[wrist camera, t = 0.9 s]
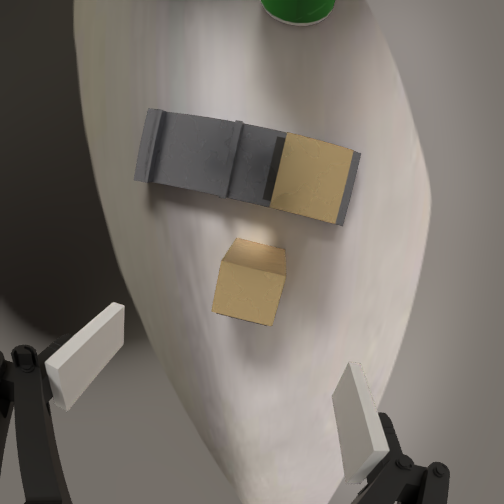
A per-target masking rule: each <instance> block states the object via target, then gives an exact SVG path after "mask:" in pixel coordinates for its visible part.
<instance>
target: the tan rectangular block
mask: <svg viewBox="0 0 504 504" xmlns="http://www.w3.org/2000/svg"><path fill="white" fill-rule="evenodd" d="M285 279H286V260H285V249H281V248H277V247H273V246H268V245H264V244H260V243H256V242H252V241H248V240H244V239H240V238H236V239H235V241H234V242H233V244H232V245H231V247H230V248H229V250H228V251H227V253H226V254H225V256H224V257H223V259H222V260H221V265H220V270H219V275H218V280H217V285H216V290H215V295H214V300H213V306H212V312H215V313H217V314H221V315H225V316H229V317H233V318H237V319H241V320H245V321H249V322H253V323H257V324H261V325H266V326H267V325H268V326H272V324H273V321H274V318H275V314H276V311H277V307H278V304H279V300H280V297H281V293H282V290H283V286H284V283H285Z"/></svg>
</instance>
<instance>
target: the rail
mask: <svg viewBox="0 0 504 504" xmlns="http://www.w3.org/2000/svg"><path fill="white" fill-rule="evenodd" d="M360 156H361V153H358V152H355V151H354V150H351V149H348V148H345V147H341V146H338V145H334V144H331V143H327V142H324V141H320V140H316V139H313V138H309V137H305V136H301V135H297V134H293V133H289V132H287V133H286V132H281V131H277V130H272V129H268V128H263V127H258V126H254V125H249V124H244V123H243V122H242V121H237V120H236V122H233V121H227V120H221V119H215V118H209V117H202V116H195V115H188V114H180V113H172V112H166V111H164V110H160V109H149V108H148V111H147V116H146V120H145V124H144V129H143V133H142V138H141V143H140V148H139V153H138V158H137V164H136V170H135V176H134V180H136V181H141V182H146V183H149V182H155V183H160V184H165V185H170V186H175V187H180V188H185V189H190V190H195V191H199V192H204V193H209V194H213V195H218V196H219V198H224V199H226V198H231V199H236V200H240V201H245V202H249V203H253V204H257V205H262V206H266V207H270V208H274V209H278V210H282V211H286V212H290V213H294V214H298V215H302V216H306V217H310V218H314V219H318V220H322V221H325V222H329V223H333V224H337V225H340V226H343V223H344V219H345V216H346V212H347V208H348V205H349V201H350V197H351V193H352V189H353V185H354V181H355V177H356V173H357V169H358V165H359V160H360Z"/></svg>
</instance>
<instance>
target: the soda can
mask: <svg viewBox="0 0 504 504" xmlns="http://www.w3.org/2000/svg"><path fill="white" fill-rule="evenodd" d="M334 3H335V0H261V4H262V5H263V7H264V9H265V11H266V12H267V13H268V14H269V15H270V16H272V17H273V18H274V19H276V20H278V21H280V22H282V23H286V24H290V25H294V26H308V25H312V24H316V23H319V22H321V21H322V20H324V19H326V18H327V17H328V15H329V14H330V13H331V12H332V9H333V6H334Z"/></svg>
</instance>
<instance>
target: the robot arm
mask: <svg viewBox="0 0 504 504" xmlns="http://www.w3.org/2000/svg"><path fill="white" fill-rule="evenodd" d="M123 344H124V305H121V304H118V303H115V302H113V303H112V304H110V305H109V306H108V307H107V308H106V309H104V310H103V311H102V312H101V313H100V314H99V315H97V316H96V317H95V318H94V319H93V320H92V321H90V322H89V323H88V324H87V325H86V326H85V327H84V328H82V329H81V330H80V331H79V332H78V333H77V334H75V335H74V336H72V335H70V334H65V335H63V336H60V337H59V338H58V339H56V340H55V341H54V343H52V344H51V345H49V347H47V348H46V349H45V350H44V351H42V352H41V353H40V354H39V355H38V356H37V353H36V350H35V349H34V348H33V347H31V346H29V345H19V346H17V347H15V348H14V349H13V350H12V352H11V356H12V359H13V362H10V361H6V360H5V359H4V356H3V353H2V352H1V351H0V474H1V467H2V460H3V454H4V448H5V443H6V437H7V433H8V428H9V424H10V419H11V415H12V411H13V407H14V409H15V428H16V440H17V449H18V458H19V465H20V472H21V478H22V483H23V488H24V493H25V498H26V502H25V503H24V504H72V501H71V498H70V495H69V492H68V488H67V485H66V482H65V478H64V474H63V471H62V466H61V462H60V459H59V454H58V450H57V445H56V440H55V435H54V429H53V424H52V417H51V411H50V405H49V400H50V399H51V398H52V397H53V400H54V403H55V405H56V406H58V407H60V408H62V409H63V410H65V411H68V410H69V409H70V408H71V406H72V405H73V404H74V403H75V401H76V400H77V399H78V398H79V397H80V395H81V394H82V393H83V392H84V390H85V389H86V388H87V387H88V386H89V385H90V383H91V382H92V381H93V380H94V379H95V377H96V376H97V375H98V374H99V372H100V371H101V370H102V369H103V368H104V367H105V365H106V364H107V363H108V362H109V361H110V359H111V358H112V357H113V356H114V355H115V354H116V352H117V351H118V350H119V349H120V347H122V345H123ZM332 400H333V406H334V411H335V417H336V423H337V429H338V435H339V441H340V447H341V454H342V461H343V467H344V474H345V481H346V484H361V483H362V481H363V480H364V479H365V478H367V483H368V484H367V485H366V486H365V487H364V488H363V489H362V490H361V491H360V492H359V493H358V496H357V497H356V498H355V499H354V500H353V502H352V503H351V504H394V503H395V501H397V504H447V498H448V489H449V478H450V472H449V469H448V468H447V466H446V465H444V464H443V463H440V462H433V463H432V464H430V465H429V466H428V467H422V466H417V465H414V462H413V461H412V459H411V458H409V457H408V456H407V455H404V454H403V453H402V450H401V447H400V444H399V441H398V438H397V436H396V434H395V430H394V428H393V424H392V422H391V419H390V418H389V417H388V416H387V414H385V413H378V412H377V409H376V406H375V403H374V400H373V397H372V394H371V391H370V388H369V386H368V383H367V380H366V377H365V374H364V371H363V369H362V366H361V364H360V363H354V362H348V364H347V367H346V369H345V371H344V373H343V375H342V377H341V379H340V381H339V383H338V385H337V387H336V389H335V391H334V393H333V395H332Z"/></svg>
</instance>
